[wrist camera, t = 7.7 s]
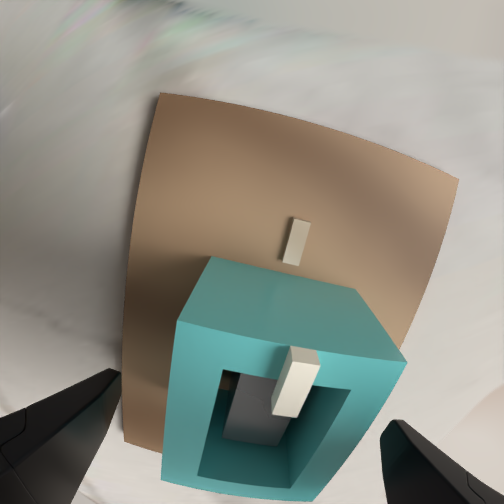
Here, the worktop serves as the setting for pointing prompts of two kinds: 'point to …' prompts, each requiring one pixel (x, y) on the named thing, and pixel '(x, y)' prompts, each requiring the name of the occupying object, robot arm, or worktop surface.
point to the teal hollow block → (274, 367)
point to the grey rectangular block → (252, 411)
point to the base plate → (267, 227)
